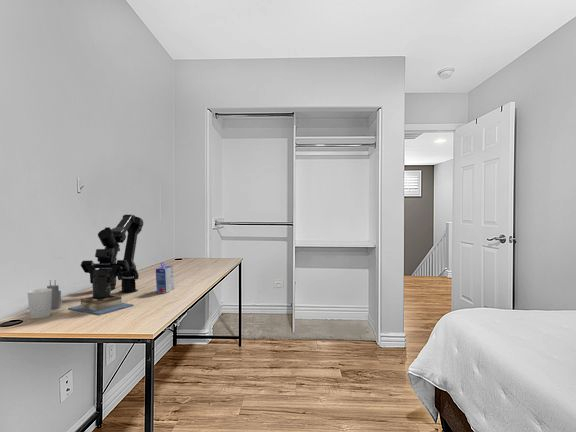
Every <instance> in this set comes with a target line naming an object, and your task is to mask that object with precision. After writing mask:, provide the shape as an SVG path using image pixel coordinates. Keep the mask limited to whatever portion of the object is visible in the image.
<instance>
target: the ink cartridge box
mask: <svg viewBox="0 0 576 432" xmlns="http://www.w3.org/2000/svg"><path fill="white" fill-rule="evenodd" d="M174 282H175V280H174V265H166V264H165V262H164V261H163V262H160V267H158V268H156V269H155V283H156V285H155V286H156V293H158V294H166V293H167V294H168V292H171V291H172V290H174V289H175V283H174Z"/></svg>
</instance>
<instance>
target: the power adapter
mask: <svg viewBox="0 0 576 432" xmlns="http://www.w3.org/2000/svg"><path fill="white" fill-rule="evenodd" d="M51 281H52V280H49V285H46V288H49V289H52V303H51V311H52V310H59V309H61V308H62V290H59V288H60V287H59V284H56V281H54V285H52V284H51V283H52V282H51Z"/></svg>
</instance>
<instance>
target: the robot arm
mask: <svg viewBox="0 0 576 432" xmlns="http://www.w3.org/2000/svg"><path fill="white" fill-rule="evenodd" d="M143 226H144V219H142V218H141V217H140V216H139V217H138V216H136V215H135V214H124V215H123V216H122V218H121V219H120V221H119V223H118V224H117V225H116V227H113V228H111V227H110V226H109V227H104V229H102V230H100V231H99V232H98V233H97V237H98V239H99V241H100V243H101V245H102V246H103V247H104V248H97V249H95V255H94V257H95V258H97V259H96V261H97V262H98V263H97V262H94V261H93V260H82V261H81V263H80V267H81V269H82V270H83V272H84V273H86V274H89V280H90V281H89V282H90V284H92V279H93V277H94V276H95V270H97V269H99V268H102V269H112V271H111V274H110V276H109V279H108V283H110V282H111V281H112V280H113V279H115V278H116V279H117V280H118V281H121V289H120V290H118V292H119V293H124V294H125V293H126V294H130V293H132V292H133V293H134V292H137V291H138V289H137V288H136V285H137V283H136V280H139V277H140V275H139V272H138V270H137V265H136V263H135V261H134V260H135V259H134V258H135V254H136V253H135V252H136V248H137V240H138V235H139V234H140V233H141V232H142V229H143ZM126 232H127V235H126ZM125 241H126V243H125ZM123 243H125V249H124V253H123V254H124V255H123V259H118V257H117V256H118V253H119V252H120V251H121V249H120V246H121V245H120V244H123ZM115 261H116V264H114V262H115Z"/></svg>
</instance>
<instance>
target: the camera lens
mask: <svg viewBox="0 0 576 432" xmlns="http://www.w3.org/2000/svg"><path fill="white" fill-rule="evenodd" d="M116 262H117V260H116V261H115V262H114V264H116ZM98 269H102V268H98ZM111 271H112V269H107V272H108V273H107V275H109V276H110V274H111ZM116 285H117V277H116V278H115V279H113V280H112V281H111V282H110V286H111V291H113V290H115V289H116Z"/></svg>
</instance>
